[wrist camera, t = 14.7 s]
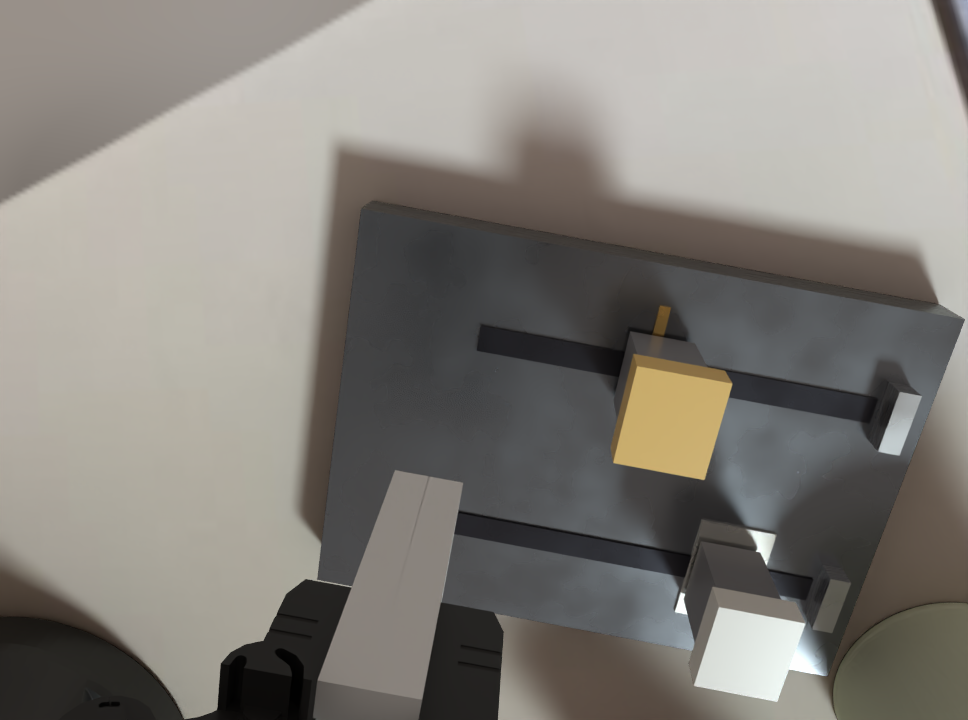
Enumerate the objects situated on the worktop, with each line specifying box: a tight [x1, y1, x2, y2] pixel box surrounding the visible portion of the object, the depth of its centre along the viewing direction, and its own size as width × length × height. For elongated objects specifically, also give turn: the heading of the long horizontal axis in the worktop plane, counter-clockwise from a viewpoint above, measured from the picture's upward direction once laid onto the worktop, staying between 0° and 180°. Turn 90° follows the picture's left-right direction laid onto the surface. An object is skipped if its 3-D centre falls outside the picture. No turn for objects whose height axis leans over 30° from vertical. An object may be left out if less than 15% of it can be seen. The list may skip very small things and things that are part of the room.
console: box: [317, 201, 965, 676], centre depth 33 cm, size 22×16×3 cm
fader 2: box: [684, 541, 806, 702], centre depth 31 cm, size 3×3×5 cm
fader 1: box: [611, 331, 732, 480], centre depth 28 cm, size 3×3×5 cm
